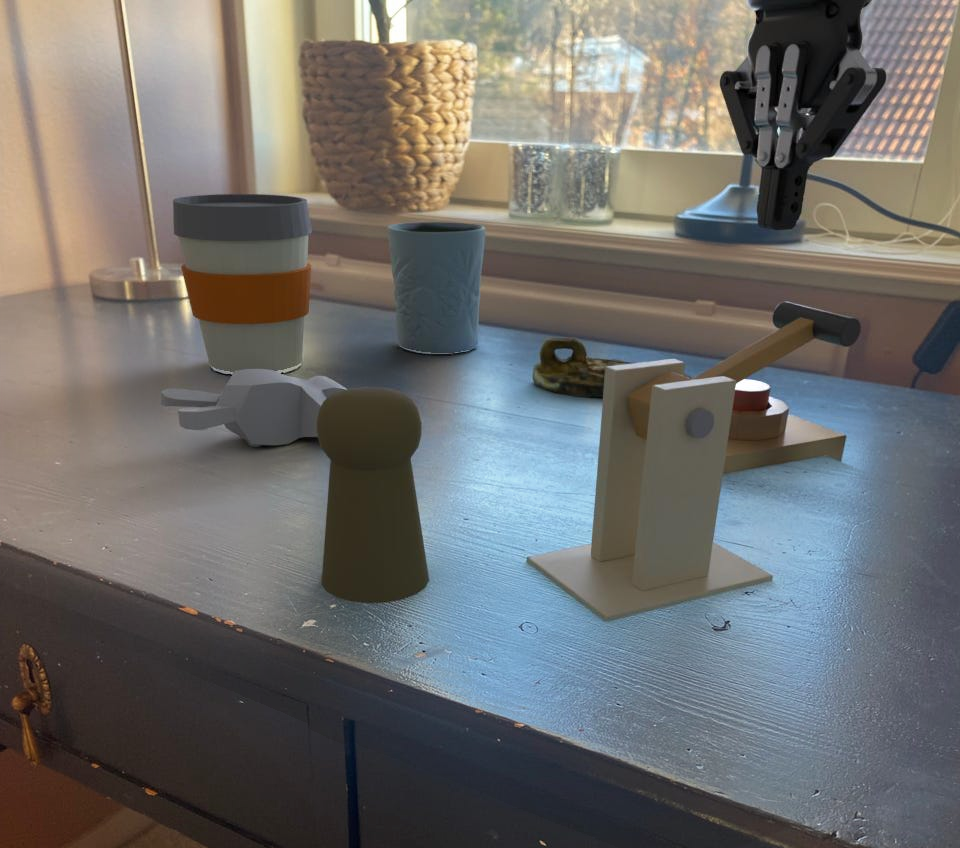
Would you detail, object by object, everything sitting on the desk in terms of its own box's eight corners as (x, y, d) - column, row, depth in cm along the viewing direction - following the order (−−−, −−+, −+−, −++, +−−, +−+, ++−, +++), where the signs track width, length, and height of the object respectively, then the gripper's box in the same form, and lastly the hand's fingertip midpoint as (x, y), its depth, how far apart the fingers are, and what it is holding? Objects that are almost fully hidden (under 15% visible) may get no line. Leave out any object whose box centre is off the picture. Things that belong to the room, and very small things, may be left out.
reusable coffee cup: (342, 370, 95) (333, 203, 88) (219, 388, 89) (198, 209, 81) (288, 345, 104) (276, 192, 97) (172, 359, 98) (150, 196, 90)
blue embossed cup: (415, 360, 99) (413, 233, 93) (375, 340, 107) (370, 222, 101) (501, 350, 104) (504, 229, 98) (456, 332, 111) (456, 218, 105)
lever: (794, 329, 54) (790, 288, 53) (862, 348, 51) (860, 304, 49) (620, 428, 52) (610, 388, 50) (678, 456, 48) (669, 413, 46)
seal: (688, 390, 95) (536, 380, 96) (695, 340, 93) (539, 330, 94) (694, 406, 86) (526, 394, 88) (701, 350, 84) (529, 340, 86)
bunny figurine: (386, 391, 74) (185, 389, 66) (380, 456, 76) (186, 462, 69) (340, 363, 81) (154, 359, 74) (336, 424, 83) (156, 426, 76)
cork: (330, 568, 56) (317, 375, 50) (435, 571, 55) (434, 378, 50) (310, 617, 50) (294, 408, 45) (427, 621, 50) (424, 411, 45)
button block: (751, 427, 81) (758, 379, 79) (841, 463, 73) (852, 411, 71) (632, 446, 76) (637, 395, 74) (716, 487, 68) (723, 431, 66)
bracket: (680, 542, 60) (705, 346, 54) (770, 595, 53) (809, 380, 48) (525, 575, 55) (534, 366, 49) (604, 637, 49) (625, 406, 43)
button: (744, 399, 75) (748, 376, 74) (777, 411, 72) (781, 388, 71) (707, 404, 73) (710, 381, 72) (739, 417, 71) (743, 393, 70)
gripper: (957, -96, 54) (891, 236, 63) (790, -67, 65) (752, 216, 73) (859, -109, 51) (804, 243, 60) (700, -75, 61) (672, 221, 70)
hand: (775, 228), depth 66 cm, fingers closed
